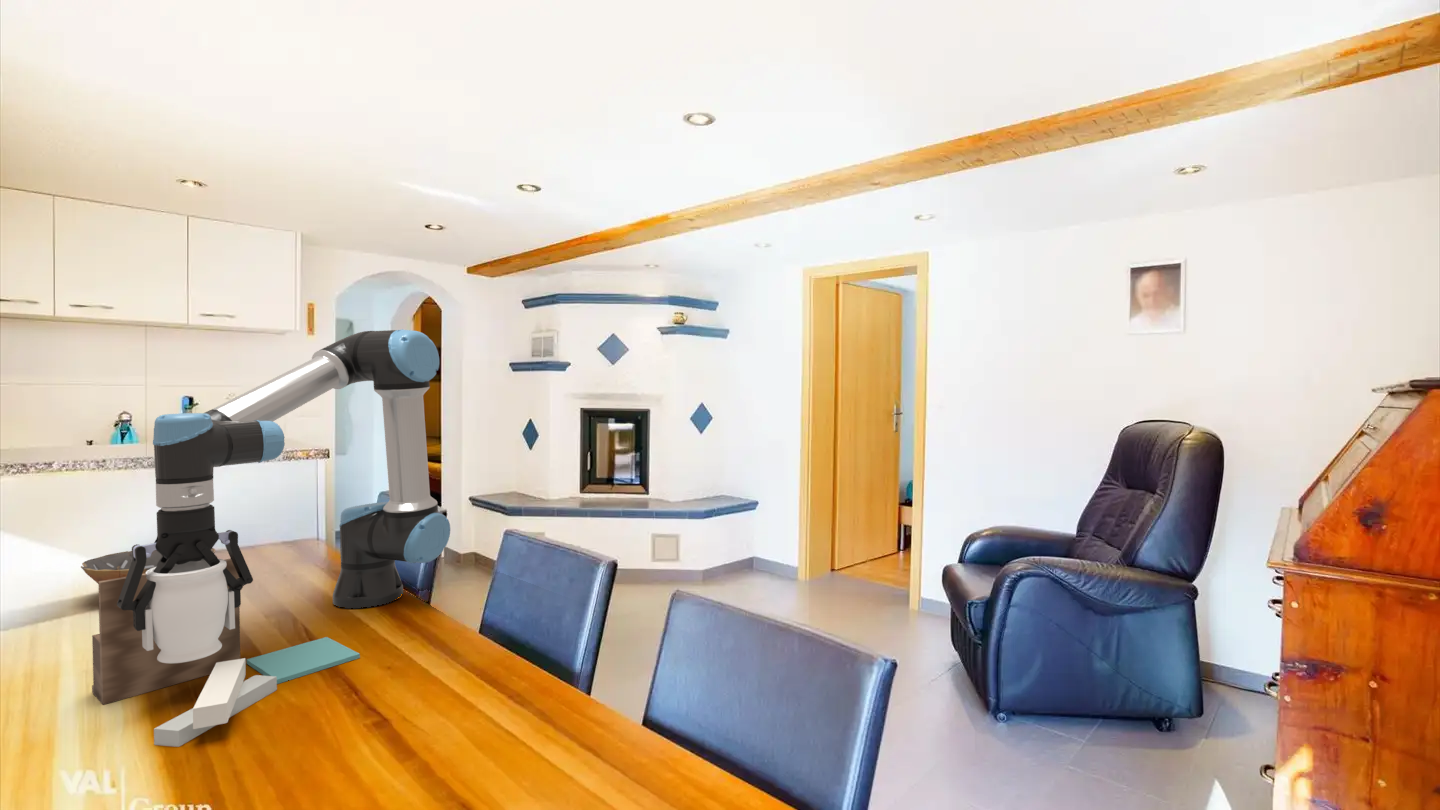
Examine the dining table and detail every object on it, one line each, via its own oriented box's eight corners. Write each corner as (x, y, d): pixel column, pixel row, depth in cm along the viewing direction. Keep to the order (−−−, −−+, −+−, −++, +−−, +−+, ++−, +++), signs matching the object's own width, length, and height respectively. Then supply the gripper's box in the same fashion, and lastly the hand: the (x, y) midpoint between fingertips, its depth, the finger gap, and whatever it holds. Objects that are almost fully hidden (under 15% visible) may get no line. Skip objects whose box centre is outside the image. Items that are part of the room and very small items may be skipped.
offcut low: (255, 692, 114) (255, 675, 114) (276, 693, 114) (276, 676, 114) (154, 749, 96) (153, 728, 96) (178, 751, 96) (178, 730, 96)
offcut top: (216, 680, 112) (216, 662, 112) (245, 675, 114) (245, 658, 114) (193, 729, 96) (192, 708, 96) (227, 722, 98) (226, 702, 98)
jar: (139, 672, 105) (136, 578, 104) (159, 648, 114) (156, 561, 113) (222, 659, 109) (219, 569, 109) (235, 637, 119) (232, 554, 118)
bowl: (233, 591, 166) (232, 552, 166) (102, 621, 146) (101, 575, 145) (191, 575, 180) (190, 539, 180) (66, 600, 159) (65, 559, 159)
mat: (326, 640, 135) (326, 636, 135) (359, 657, 127) (359, 653, 127) (246, 663, 124) (246, 659, 124) (277, 684, 116) (277, 679, 116)
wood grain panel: (226, 656, 127) (224, 552, 127) (240, 665, 123) (238, 558, 123) (92, 692, 112) (89, 575, 112) (102, 704, 108) (100, 582, 107)
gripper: (98, 521, 99) (104, 667, 100) (273, 498, 117) (276, 621, 118) (86, 515, 103) (92, 654, 104) (256, 494, 122) (260, 612, 123)
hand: (190, 637), depth 111 cm, fingers closed on jar, 10 cm apart
